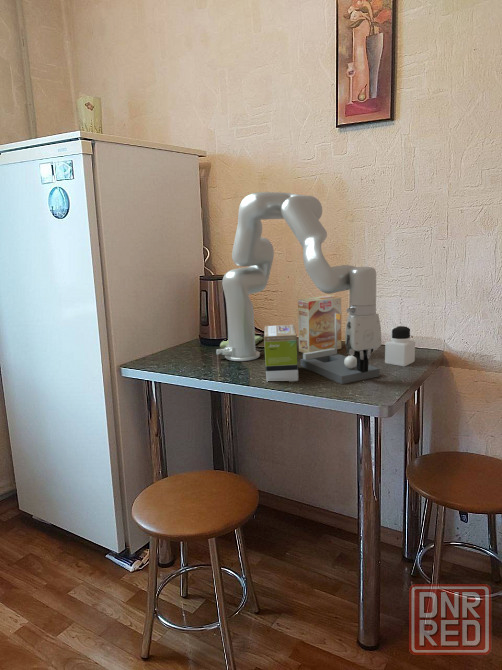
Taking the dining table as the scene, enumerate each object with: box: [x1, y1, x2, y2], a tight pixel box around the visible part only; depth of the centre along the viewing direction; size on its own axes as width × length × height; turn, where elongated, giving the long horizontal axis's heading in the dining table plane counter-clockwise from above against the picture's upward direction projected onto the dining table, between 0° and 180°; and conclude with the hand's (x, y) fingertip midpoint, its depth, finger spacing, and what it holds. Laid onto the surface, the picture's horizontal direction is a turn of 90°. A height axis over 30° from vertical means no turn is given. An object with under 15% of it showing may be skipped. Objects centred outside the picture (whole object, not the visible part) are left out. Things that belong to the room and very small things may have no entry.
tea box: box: [263, 324, 299, 383], centre depth 164 cm, size 15×10×15 cm
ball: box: [344, 355, 357, 369], centre depth 160 cm, size 4×4×4 cm
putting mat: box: [300, 313, 381, 385], centre depth 165 cm, size 14×23×16 cm, turn 26°
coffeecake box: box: [297, 294, 342, 354], centre depth 192 cm, size 15×7×20 cm, turn 120°
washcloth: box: [219, 335, 264, 349], centre depth 208 cm, size 13×18×3 cm
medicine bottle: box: [384, 325, 416, 367], centre depth 172 cm, size 7×7×12 cm
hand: (362, 371), depth 156 cm, fingers closed
